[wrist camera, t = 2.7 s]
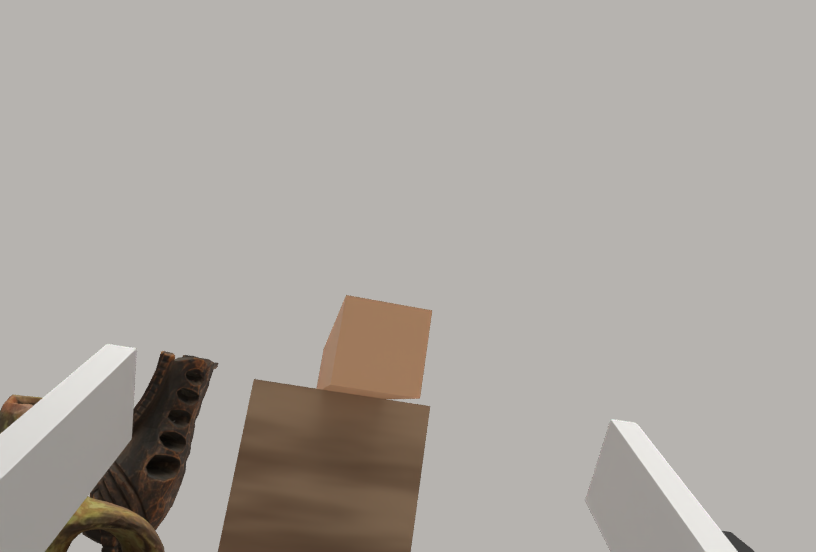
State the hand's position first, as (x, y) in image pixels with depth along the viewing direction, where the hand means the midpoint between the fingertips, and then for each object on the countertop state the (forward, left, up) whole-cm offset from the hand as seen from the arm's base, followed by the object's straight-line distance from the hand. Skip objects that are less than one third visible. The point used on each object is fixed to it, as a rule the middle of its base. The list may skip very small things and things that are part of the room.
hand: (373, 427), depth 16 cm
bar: (-5, +18, +1) cm, 19 cm away
